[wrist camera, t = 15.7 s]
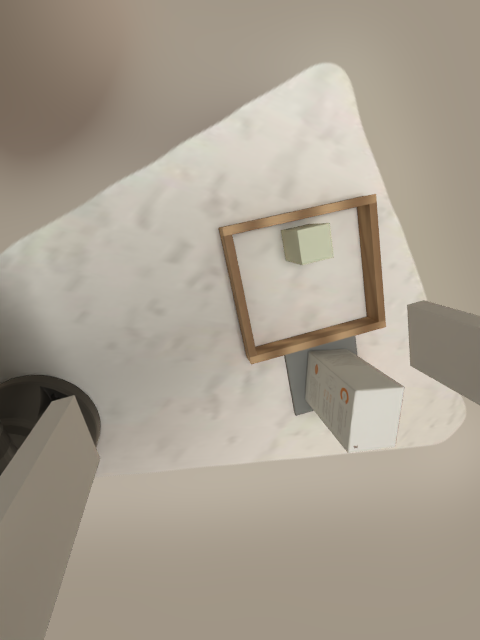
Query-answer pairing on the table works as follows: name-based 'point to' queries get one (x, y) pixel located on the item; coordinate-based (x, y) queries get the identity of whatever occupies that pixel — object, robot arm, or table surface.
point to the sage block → (307, 243)
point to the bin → (329, 334)
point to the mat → (298, 370)
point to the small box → (354, 400)
